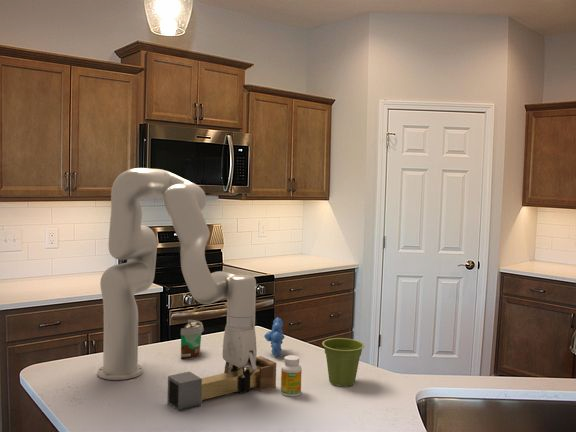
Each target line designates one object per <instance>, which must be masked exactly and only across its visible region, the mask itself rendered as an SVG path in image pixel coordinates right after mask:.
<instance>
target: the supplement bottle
mask: <svg viewBox="0 0 576 432" xmlns="http://www.w3.org/2000/svg"><path fill="white" fill-rule="evenodd" d="M283 359H284V360H283V362H284V364H282V365H281V371H280V372H281V373H280V375H281V377H280V380H281V381H280V393H281V394H282V395H283V396H285V397H293V398H294V397H297V396H300V395H301V393H302V374H303V373H302V371H303V370H302V365H300V357H299V356H298V355H294V354H293V355H290V354H289V355H286V356H284V358H283Z"/></svg>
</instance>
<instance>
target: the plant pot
mask: <svg viewBox="0 0 576 432" xmlns="http://www.w3.org/2000/svg"><path fill="white" fill-rule="evenodd" d="M321 344H322V346H323V348H324V354H325V356H326V357H325V358H326V365H327V373H328V381H329V383H330V384H331V385H333V386H340V387H342V388H343V387H344V388H345V387H351V386H353V385H354V384H355V383H356V377H357V372H358V369H359V368H358V367H359V364H360V363H359V362H360V357H361V355H362V351H363V349H364V348H365V344H364V343H363V342H361V341H360V340H357V339H352V338H345V337H335V338H334V337H333V338H328V339H325V340H323V341H322V343H321Z"/></svg>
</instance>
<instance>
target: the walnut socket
mask: <svg viewBox="0 0 576 432" xmlns="http://www.w3.org/2000/svg"><path fill="white" fill-rule="evenodd" d="M255 364H256V366H257V365H261V366H263V367H261V368H260V376H259V386H256V387H252V388H253V389H254V390H257V391H259V392H265V391H268V390H273V389H276V388H277V384H276V382H277V362H275V361H274V360H271V359H268V358H266V357H265V356H262V355H260V356H256V363H255ZM246 365H247V364H246Z"/></svg>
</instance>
